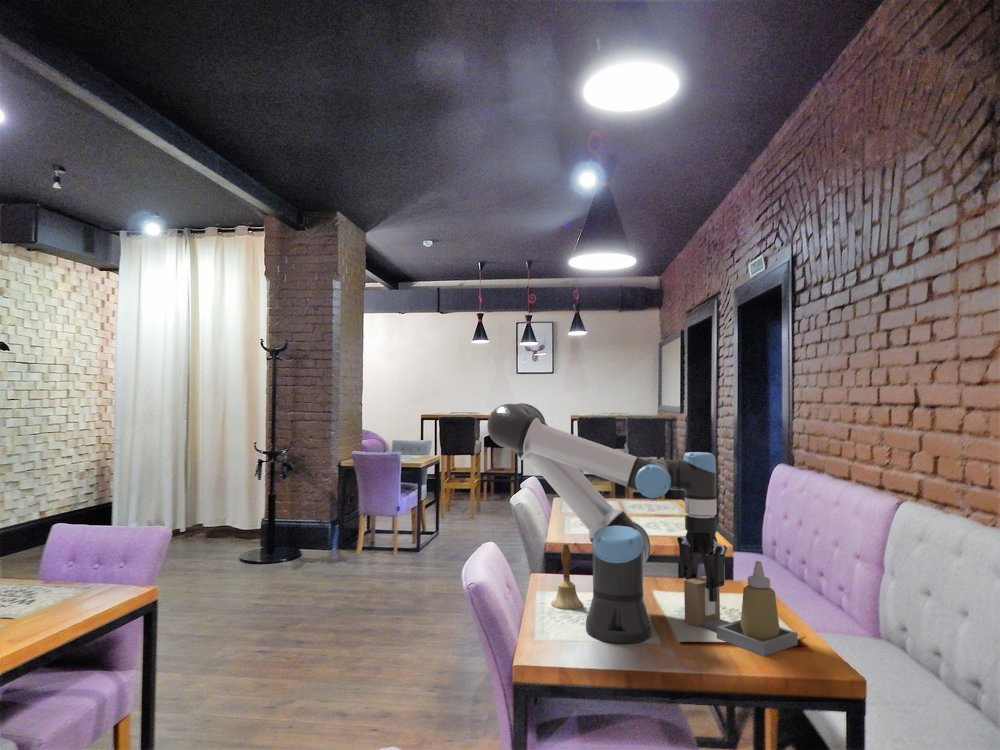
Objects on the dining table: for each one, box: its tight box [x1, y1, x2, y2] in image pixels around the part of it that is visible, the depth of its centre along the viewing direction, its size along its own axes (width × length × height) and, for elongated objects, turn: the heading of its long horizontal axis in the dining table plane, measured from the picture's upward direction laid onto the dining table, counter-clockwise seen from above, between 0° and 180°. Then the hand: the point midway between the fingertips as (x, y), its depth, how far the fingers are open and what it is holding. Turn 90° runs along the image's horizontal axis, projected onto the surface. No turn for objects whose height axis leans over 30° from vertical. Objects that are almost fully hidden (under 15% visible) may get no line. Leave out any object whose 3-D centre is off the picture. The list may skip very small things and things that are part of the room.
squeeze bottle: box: [740, 560, 780, 642], centre depth 136 cm, size 8×8×18 cm
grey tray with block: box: [683, 575, 799, 657], centre depth 141 cm, size 23×12×10 cm, turn 32°
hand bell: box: [551, 543, 584, 610], centre depth 162 cm, size 8×8×16 cm
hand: (702, 611), depth 149 cm, fingers closed on grey tray with block, 4 cm apart
